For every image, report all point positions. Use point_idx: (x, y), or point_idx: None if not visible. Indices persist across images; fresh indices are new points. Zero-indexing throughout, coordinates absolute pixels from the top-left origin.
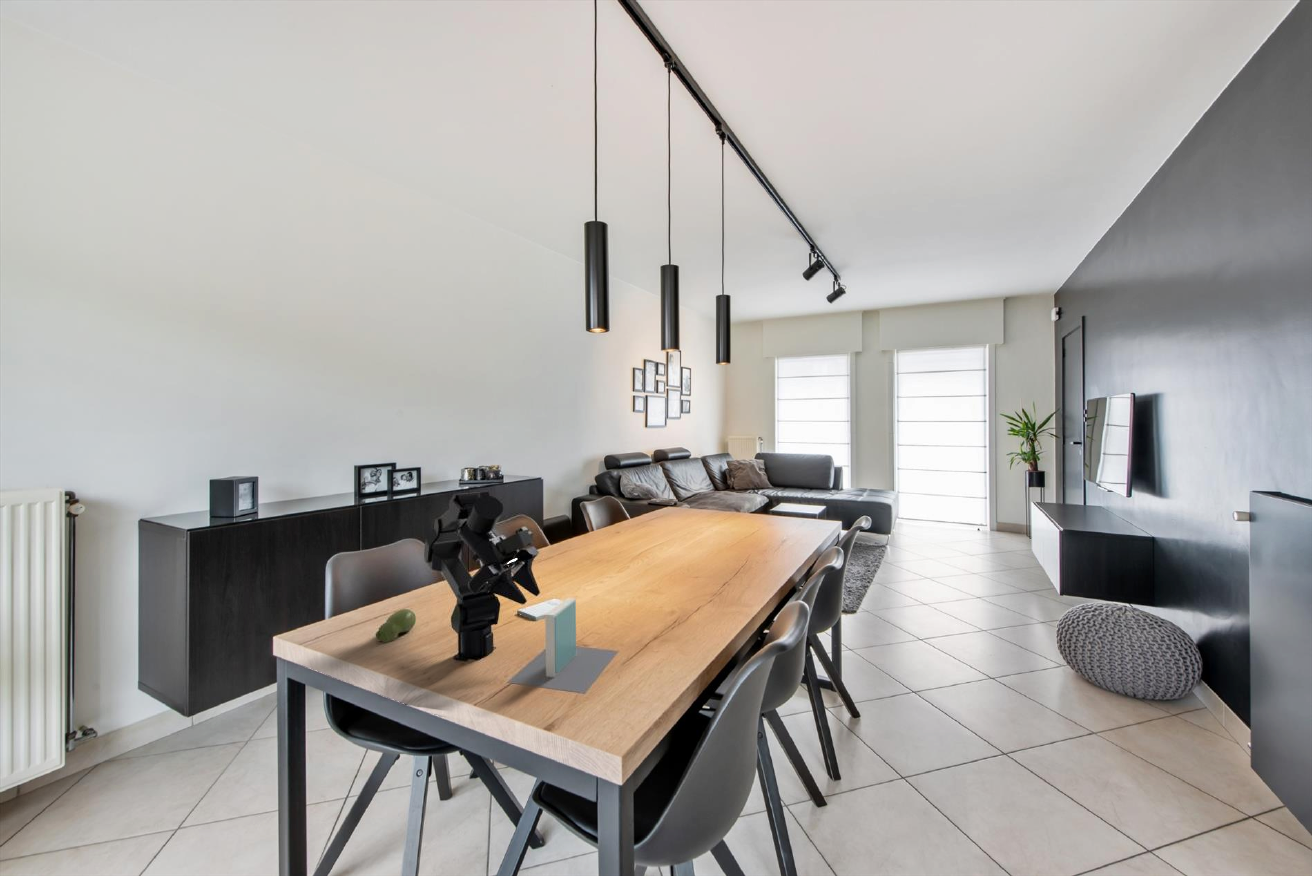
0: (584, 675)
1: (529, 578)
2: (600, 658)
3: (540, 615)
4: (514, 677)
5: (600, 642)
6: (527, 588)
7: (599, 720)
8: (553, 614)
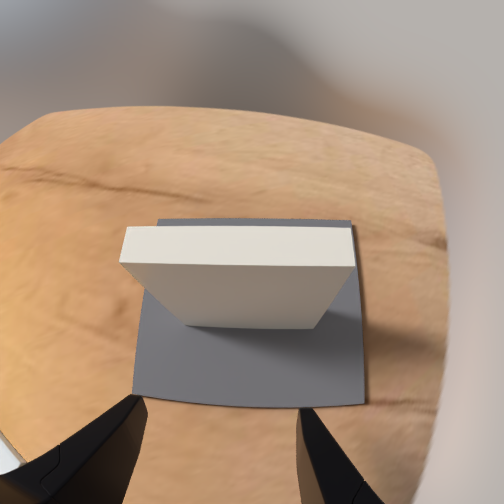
0: None
1: (84, 476)
2: None
3: (11, 454)
4: (338, 400)
5: (105, 279)
6: (126, 476)
7: (396, 184)
8: (343, 232)
